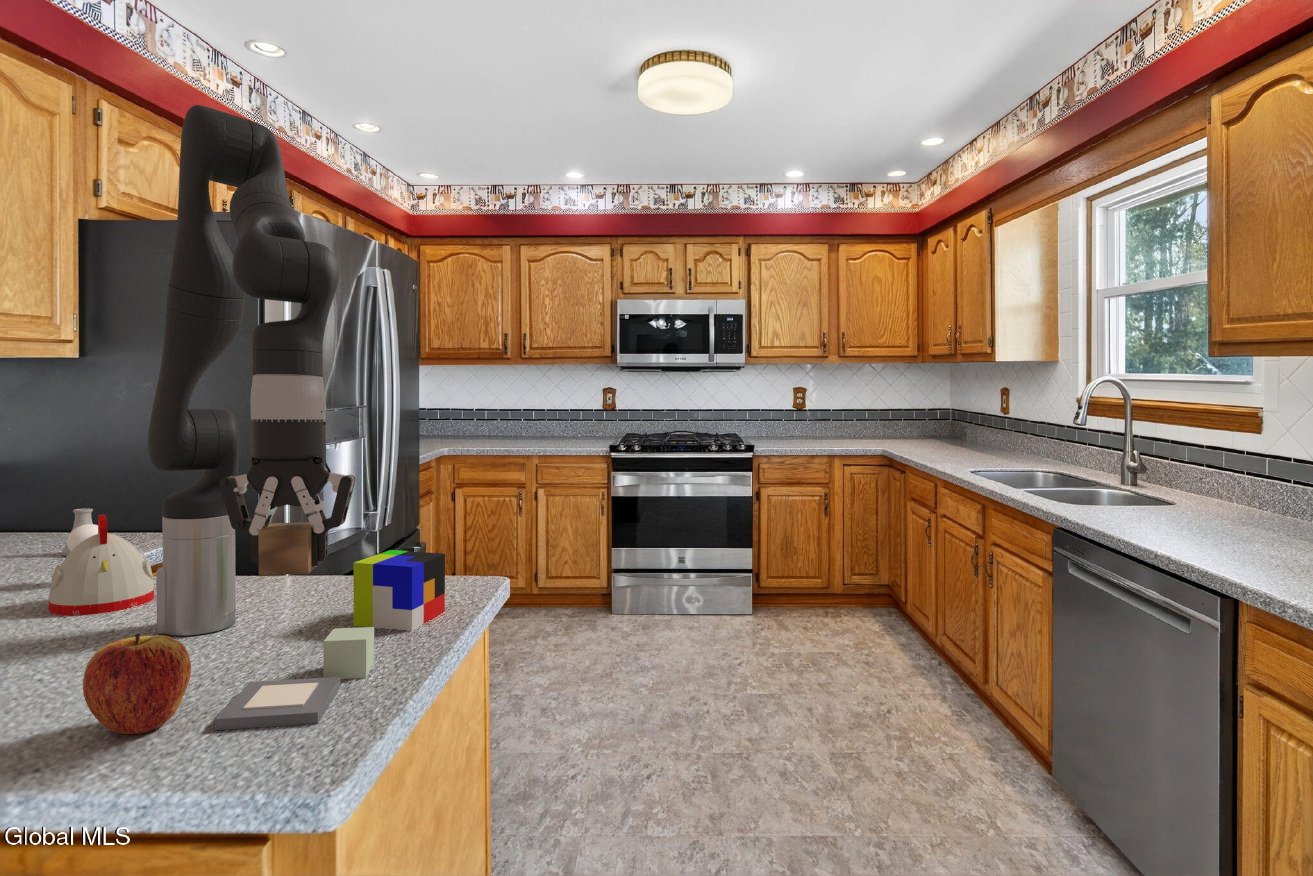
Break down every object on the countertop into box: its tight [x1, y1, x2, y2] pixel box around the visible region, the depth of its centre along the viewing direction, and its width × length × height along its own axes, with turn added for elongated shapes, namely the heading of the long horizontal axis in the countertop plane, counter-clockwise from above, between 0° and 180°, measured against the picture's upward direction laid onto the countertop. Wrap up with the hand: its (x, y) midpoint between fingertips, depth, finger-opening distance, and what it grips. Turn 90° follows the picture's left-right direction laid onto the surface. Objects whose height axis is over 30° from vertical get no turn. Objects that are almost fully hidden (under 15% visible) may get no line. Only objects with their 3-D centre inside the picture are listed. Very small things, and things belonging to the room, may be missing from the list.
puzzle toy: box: [353, 549, 446, 632], centre depth 111 cm, size 10×10×10 cm
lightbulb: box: [66, 523, 98, 551], centre depth 129 cm, size 6×6×11 cm
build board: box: [214, 677, 341, 731], centre depth 79 cm, size 10×10×1 cm
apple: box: [82, 633, 192, 735], centre depth 73 cm, size 9×9×10 cm
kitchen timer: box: [48, 514, 155, 616], centre depth 117 cm, size 14×14×15 cm
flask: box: [60, 508, 94, 557], centre depth 153 cm, size 7×7×10 cm
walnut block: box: [258, 521, 318, 576], centre depth 79 cm, size 5×5×5 cm
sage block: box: [323, 627, 375, 680], centre depth 89 cm, size 5×5×5 cm
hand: (290, 565), depth 79 cm, fingers closed on walnut block, 5 cm apart
